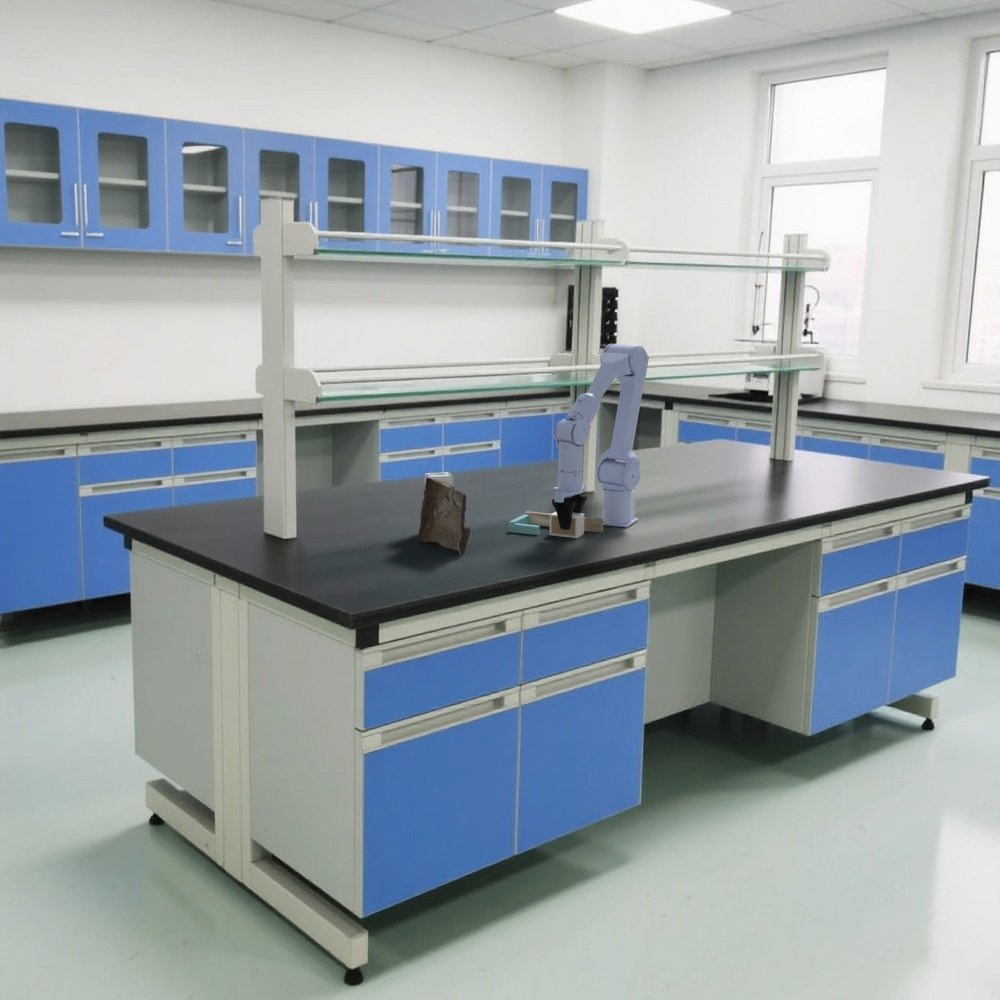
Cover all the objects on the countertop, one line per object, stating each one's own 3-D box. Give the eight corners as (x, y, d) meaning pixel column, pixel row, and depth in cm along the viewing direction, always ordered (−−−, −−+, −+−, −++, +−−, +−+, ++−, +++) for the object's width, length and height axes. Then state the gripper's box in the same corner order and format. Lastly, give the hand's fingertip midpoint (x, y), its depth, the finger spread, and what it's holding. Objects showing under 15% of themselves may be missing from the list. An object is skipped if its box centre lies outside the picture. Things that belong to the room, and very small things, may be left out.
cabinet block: (556, 531, 266) (557, 510, 265) (583, 534, 264) (584, 513, 263) (549, 535, 262) (549, 514, 261) (576, 538, 259) (577, 517, 258)
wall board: (527, 522, 275) (527, 511, 274) (603, 531, 267) (603, 519, 266) (524, 524, 274) (524, 512, 273) (601, 532, 265) (601, 520, 265)
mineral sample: (418, 542, 254) (418, 477, 251) (432, 540, 257) (433, 475, 254) (459, 557, 241) (460, 489, 238) (474, 555, 243) (475, 487, 240)
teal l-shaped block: (524, 524, 274) (524, 514, 273) (552, 527, 271) (553, 517, 270) (508, 531, 265) (508, 521, 265) (537, 535, 262) (537, 524, 262)
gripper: (565, 464, 268) (564, 519, 270) (542, 473, 255) (541, 531, 258) (593, 466, 265) (591, 522, 268) (571, 476, 252) (569, 534, 255)
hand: (569, 526), depth 262 cm, fingers closed on cabinet block, 5 cm apart
